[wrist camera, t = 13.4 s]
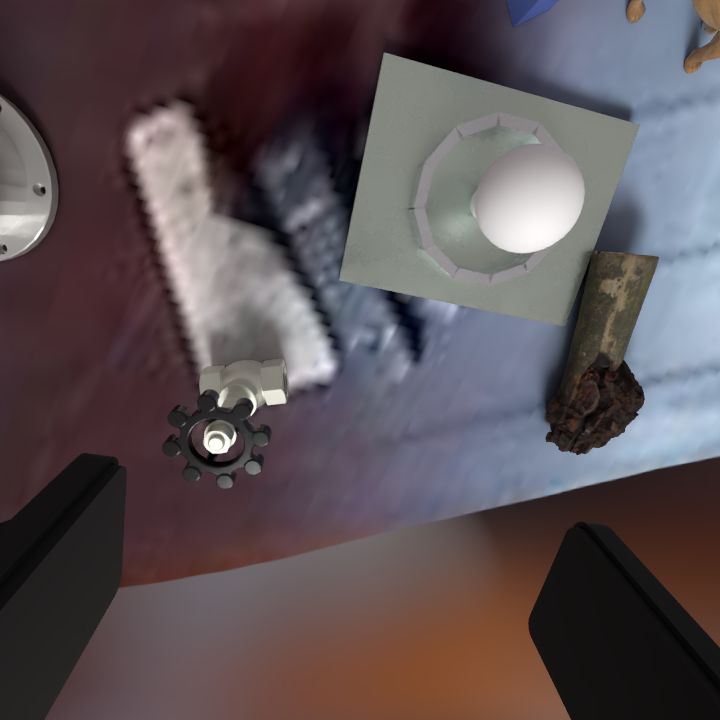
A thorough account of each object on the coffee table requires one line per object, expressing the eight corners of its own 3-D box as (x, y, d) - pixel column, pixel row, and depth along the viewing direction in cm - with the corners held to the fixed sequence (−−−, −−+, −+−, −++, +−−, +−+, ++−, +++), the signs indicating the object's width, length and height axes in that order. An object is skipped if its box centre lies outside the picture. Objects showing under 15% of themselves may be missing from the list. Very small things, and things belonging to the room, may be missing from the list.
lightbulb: (429, 223, 33) (475, 227, 23) (468, 146, 31) (536, 111, 21) (495, 257, 34) (566, 276, 24) (535, 184, 32) (631, 169, 22)
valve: (293, 405, 38) (277, 483, 27) (220, 413, 38) (174, 495, 27) (282, 336, 36) (260, 389, 25) (205, 344, 36) (147, 401, 25)
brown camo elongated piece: (581, 247, 36) (626, 251, 30) (652, 257, 37) (709, 263, 31) (528, 432, 41) (559, 463, 36) (591, 438, 42) (631, 469, 36)
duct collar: (338, 278, 35) (339, 283, 32) (382, 58, 30) (387, 40, 27) (557, 323, 38) (577, 332, 34) (629, 127, 33) (659, 118, 30)
